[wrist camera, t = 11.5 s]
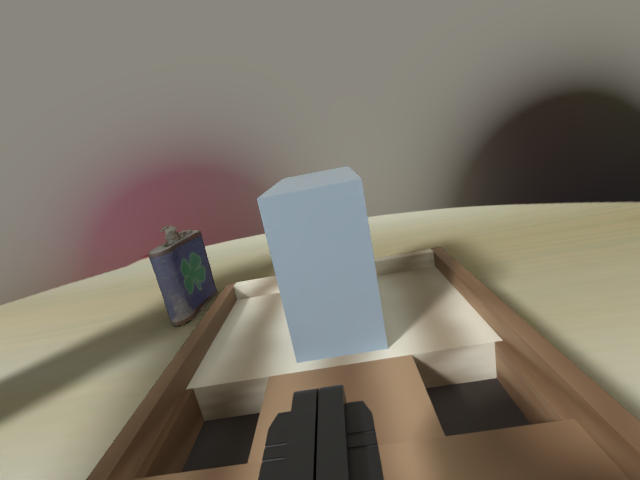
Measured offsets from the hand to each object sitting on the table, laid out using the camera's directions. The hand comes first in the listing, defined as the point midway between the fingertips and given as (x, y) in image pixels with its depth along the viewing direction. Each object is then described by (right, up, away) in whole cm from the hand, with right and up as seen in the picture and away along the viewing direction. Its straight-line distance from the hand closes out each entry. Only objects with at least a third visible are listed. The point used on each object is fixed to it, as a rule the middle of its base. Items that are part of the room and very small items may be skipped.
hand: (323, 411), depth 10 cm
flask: (-16, -4, +32) cm, 36 cm away
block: (+1, -1, +17) cm, 17 cm away
